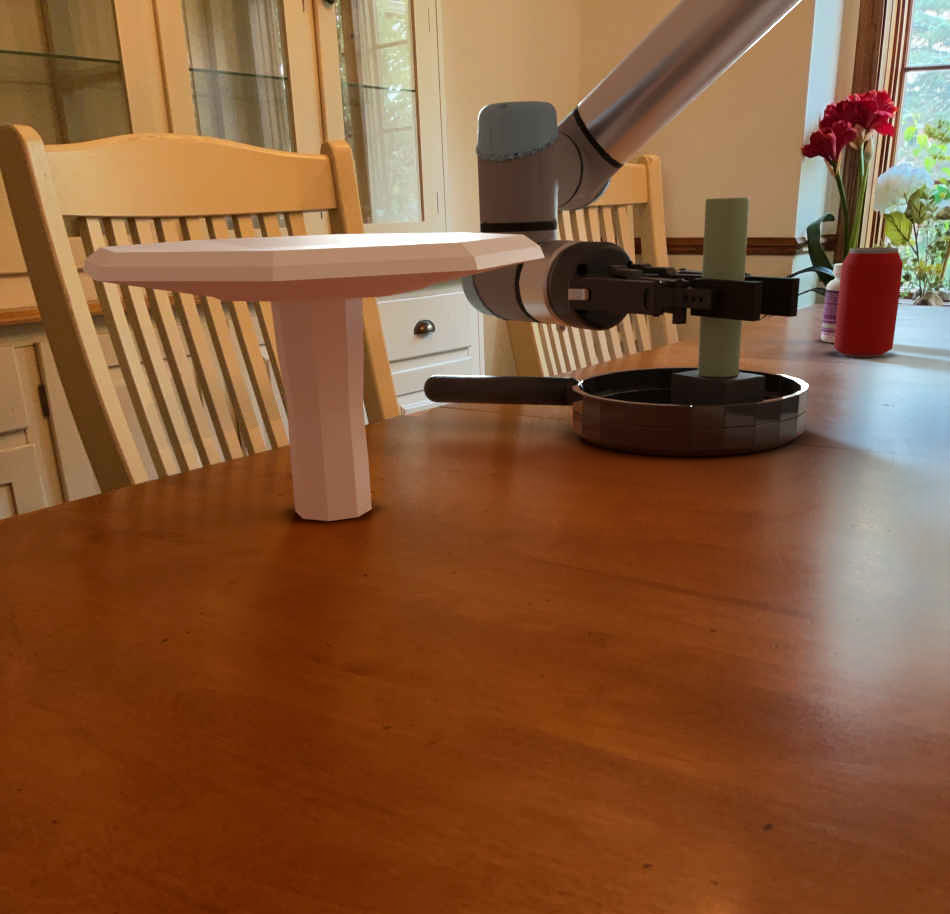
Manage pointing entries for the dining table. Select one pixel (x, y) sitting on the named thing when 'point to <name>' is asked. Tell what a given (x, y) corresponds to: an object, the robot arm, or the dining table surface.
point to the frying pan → (683, 415)
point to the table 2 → (315, 324)
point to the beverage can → (868, 302)
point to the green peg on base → (719, 335)
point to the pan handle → (500, 389)
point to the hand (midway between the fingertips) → (775, 299)
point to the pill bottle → (831, 306)
